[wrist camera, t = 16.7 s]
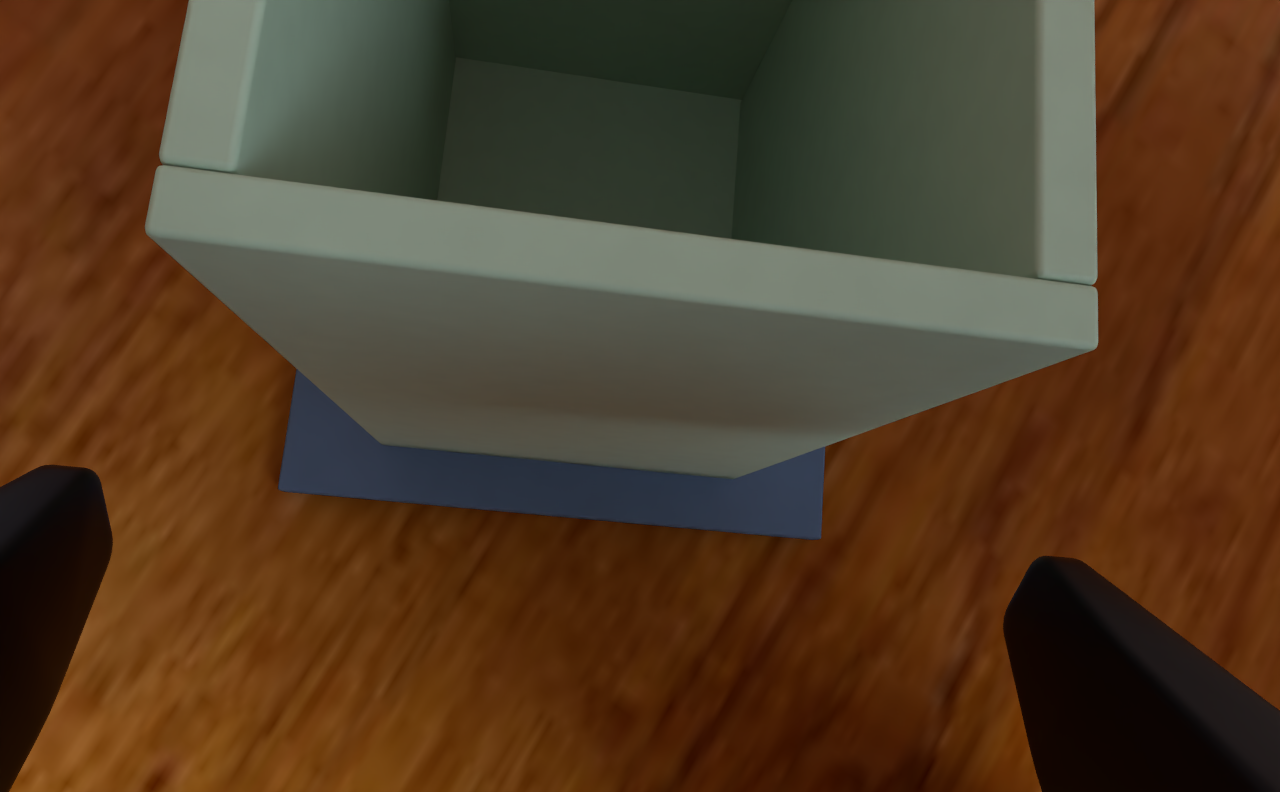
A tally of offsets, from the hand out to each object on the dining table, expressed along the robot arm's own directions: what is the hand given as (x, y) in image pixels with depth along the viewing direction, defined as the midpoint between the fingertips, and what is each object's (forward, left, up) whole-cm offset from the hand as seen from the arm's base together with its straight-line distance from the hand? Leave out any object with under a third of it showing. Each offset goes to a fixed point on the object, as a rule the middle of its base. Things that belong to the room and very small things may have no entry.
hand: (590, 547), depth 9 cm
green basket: (+5, -2, -8) cm, 10 cm away
